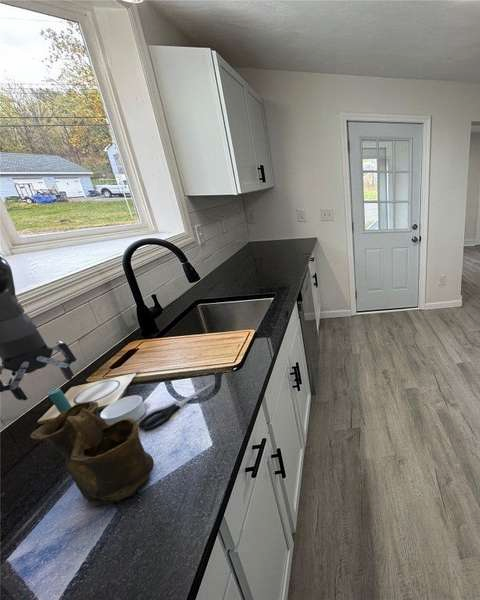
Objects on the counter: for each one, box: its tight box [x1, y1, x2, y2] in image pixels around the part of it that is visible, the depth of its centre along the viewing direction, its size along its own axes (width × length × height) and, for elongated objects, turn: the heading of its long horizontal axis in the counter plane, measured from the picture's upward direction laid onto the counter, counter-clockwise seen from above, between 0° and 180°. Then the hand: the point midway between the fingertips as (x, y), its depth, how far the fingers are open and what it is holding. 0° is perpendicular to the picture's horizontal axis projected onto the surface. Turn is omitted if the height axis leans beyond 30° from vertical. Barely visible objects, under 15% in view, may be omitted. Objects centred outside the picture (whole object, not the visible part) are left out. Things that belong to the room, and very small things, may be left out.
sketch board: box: [36, 372, 137, 425], centre depth 95 cm, size 18×16×1 cm
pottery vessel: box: [30, 401, 155, 507], centre depth 63 cm, size 25×11×20 cm, turn 65°
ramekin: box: [99, 395, 146, 424], centre depth 85 cm, size 9×9×4 cm
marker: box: [47, 388, 72, 414], centre depth 83 cm, size 2×2×11 cm
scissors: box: [138, 381, 215, 432], centre depth 89 cm, size 7×1×20 cm
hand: (47, 388), depth 81 cm, fingers open, 8 cm apart
